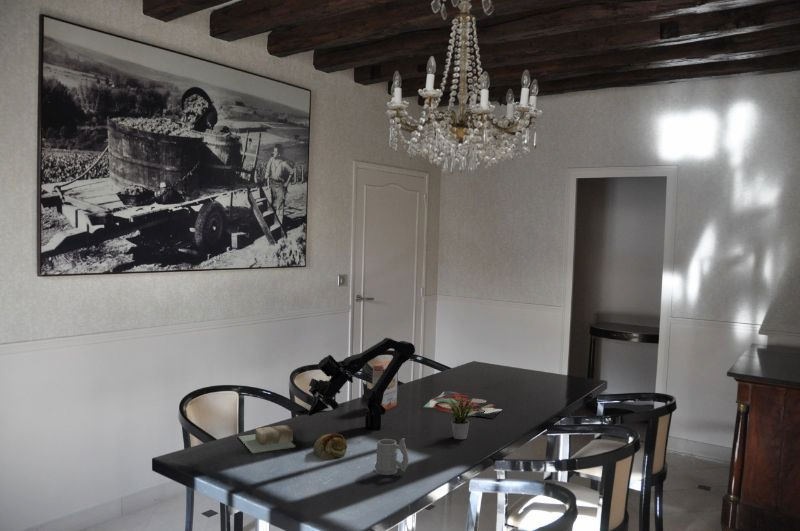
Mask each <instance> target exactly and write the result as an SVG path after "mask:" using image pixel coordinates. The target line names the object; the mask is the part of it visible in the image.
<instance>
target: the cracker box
mask: <svg viewBox="0 0 800 531" xmlns="http://www.w3.org/2000/svg"><path fill="white" fill-rule="evenodd" d="M390 361H391V360H386V361H383V362H379V363H377V364H372V385H371V386H372V388H373V387H374V386H375V385H376V383H377V381H378V380H379V378H380V377H381V375H382V374H383V372H384V371H385V369H386V368H387V366H388V365H389V363H390ZM398 373H399V371H398V372H397V373H396V375H395V376H394V378H393V379H392V381H391V383H390V384H389V386H388V387H387V389H386V390H385V392H384V395H383V401H382V403H381V405H382V406H383V407H384V408H385V409H386V411H388V410H390V409H393V408H395V407H397V403H398V402H397V398H398V396H397V395H398Z"/></svg>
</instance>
